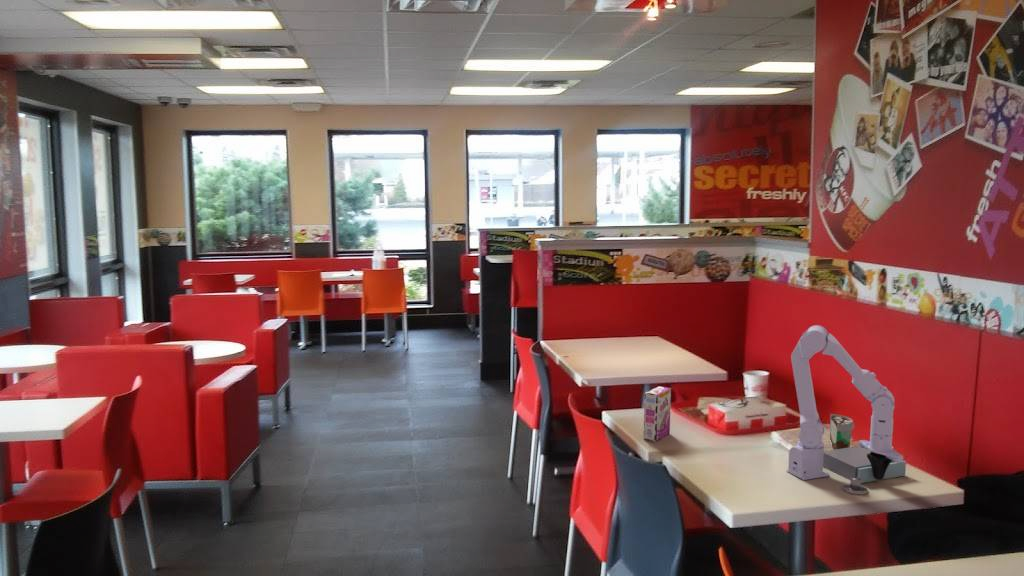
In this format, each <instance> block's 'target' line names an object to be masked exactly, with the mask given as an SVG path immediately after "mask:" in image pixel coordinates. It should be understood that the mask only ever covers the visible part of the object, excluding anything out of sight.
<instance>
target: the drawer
mask: <svg viewBox="0 0 1024 576" xmlns="http://www.w3.org/2000/svg"><path fill="white" fill-rule="evenodd" d="M906 466H907V461H906V460H903V462H901V463H896V462H894V463H890V464H889V466H888V467H887V469H886V472H885V475H884V477H883V479H880V480H879V481H881V480H886V479H892V478H896V477H903V476H906V471H907V470H906V469H907V468H906ZM858 478H860V479H861V484H865V483H870V482H874V481H876V482H877V481H878V480H877V479H875V478H874V474H873V470H872V466H870V467H864V468H858Z"/></svg>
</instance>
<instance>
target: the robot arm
mask: <svg viewBox="0 0 1024 576" xmlns="http://www.w3.org/2000/svg"><path fill="white" fill-rule="evenodd" d="M821 351H822V353H821V354H822V355H825V356H827V355H828V356H831V357H833V358H834V359H835V360H836V361H837V362H838V363H839V364H840V366H842V367H843V368H844V369H845V370H846V371H847V373H848V374H849V375H850V376H851V383H852V384H853V386H854V387H855V388H856V389H857V390H858V391H859V393H861V394H862V395H863V397H865V399H866V400H867V401H869V402H871V404H870V405H871V408H872V415H871V416H870V433H869V435H870V436H869V440H866V439H861V440H858V446H859V447H860V448H865V449H868V450H870V451H871V452H870V453H869V454H867V457H868V459H869V461H870V463H871V466H872V470H873V474H874V478H875V479H877V480H876V481H881V480H880V479H882V480H884V479H883V477H884V475H885V472H886V469H887V467H888V466H889V464H890V463H891V461H892V460H894V461H895V462H896V463H901V462H903V461H904V455H903V454H901V453H899V452H897V451H896V450H894V446H892V445H893V444H892V443H893V431H894V410H895V407H896V406H895V397H894V396H893V395H894V394H893V393H892V392H891V391H890V390H888V388H887V386H884V385H882V384H881V383H880V381H879V380H878V379H877V374H875V372H871V371H870V369H869V370H868V369H862V368H861V367H860V366H859V364H857V362H856V361H855V360H854V359H853V357H852V356H851V355H850V354H849V353H848V351H847V350H846V349H845V348H844V347H843V345H842V344H841V343H840V341H838V339H837V338H836V337H835V336H834V335H833V334H831V333H829V332H828V330H827V329H826V328H825V327H824V326H822V325H818V324H816V325H812V326H810V327H808V329H806V330H805V331H804V332H803V333H802V335H801V337H800V338H799V340H798V342H797V344H796V345H795V347H794V349H793V351H792V352H791V355H790V360H791V365H792V372H793V379H794V385H795V391H796V392H795V393H796V397H797V402H798V403H797V405H798V409H799V417H800V418H799V425H800V426H799V427H800V429H799V433H798V441H797V445H796V444H795V446H792V447H790V449H789V451H788V468H787V469H786V472H787V473H789V474H791V475H794V476H796V477H797V478H799V479H801V480H805V481H806V480H807V481H808V480H812V479H817V478H819V479H820V478H823V477H830V473H828V472H826V471H824V467H823V459H824V451H825V443H824V442H823V441H822V439H823V438H822V437H823V435H824V433H825V426H824V424H823V423H822V421H821V420H820V415H819V412H818V410H817V405H816V404H817V403H816V398H815V392H814V390H815V389H814V385H813V380H812V379H813V378H812V372H811V368H810V367H811V366H810V361H809V360H810V359H811V358H812V357H813V356H814V355H815V354H817V353H819V352H821Z"/></svg>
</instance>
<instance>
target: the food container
mask: <svg viewBox="0 0 1024 576" xmlns="http://www.w3.org/2000/svg"><path fill="white" fill-rule="evenodd" d="M829 420H830V426H829V427H830V428H829V441H830V440H831V442H832V447H831V450H836V449H842V448H849V447H851V440H852V439H851V438H852V431H853V430H855V423H854V421H853V419H852V418H850V417H849V416H845V415H841V414H836V413H830V418H829Z"/></svg>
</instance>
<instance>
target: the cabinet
mask: <svg viewBox="0 0 1024 576" xmlns="http://www.w3.org/2000/svg"><path fill="white" fill-rule="evenodd" d="M870 452H871V451H870V450H868V449H865V448H860V447H859V445H856V446H850V447H849V448H842V449H836V450H833V449H831V450H826V451H825V450H824V459H823V468H825V469H827V470H829V471H831V472H833V473H836V474H837V475H839V476H842V477H844V478H846V479H848V480H850V481H851V477H858V468H864V467H870V466H871V463H870V461H869V459H868V457H867V454H869V453H870ZM894 462H895V461H894V460H892V461H891V463H894Z"/></svg>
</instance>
